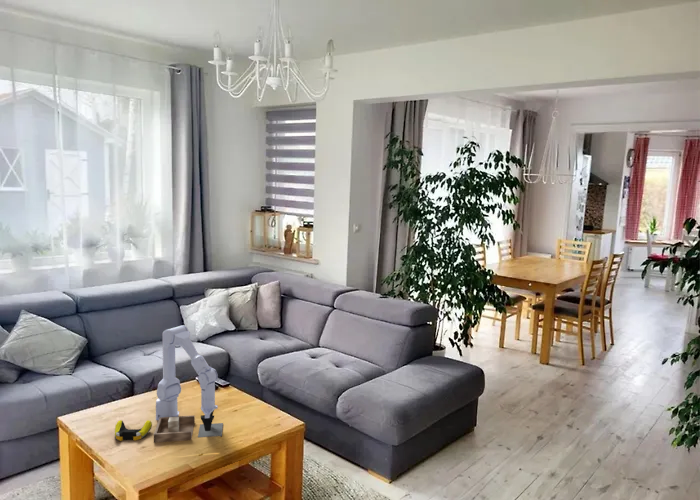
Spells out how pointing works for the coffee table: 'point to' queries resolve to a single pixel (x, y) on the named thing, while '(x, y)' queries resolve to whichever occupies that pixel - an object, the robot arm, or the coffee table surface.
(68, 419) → the coffee table surface
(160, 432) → the crate
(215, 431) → the mat
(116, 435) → the gaming controller
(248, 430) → the coffee table surface
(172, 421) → the block
